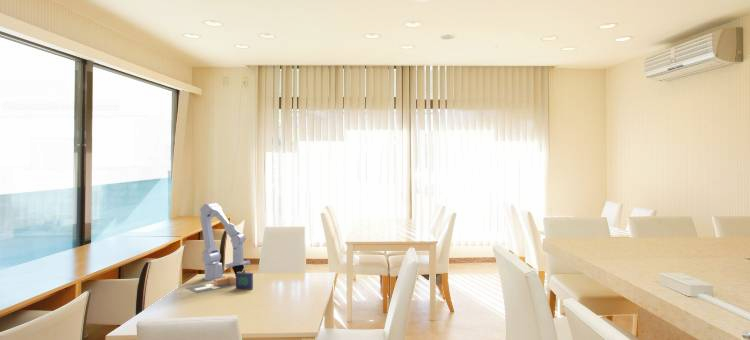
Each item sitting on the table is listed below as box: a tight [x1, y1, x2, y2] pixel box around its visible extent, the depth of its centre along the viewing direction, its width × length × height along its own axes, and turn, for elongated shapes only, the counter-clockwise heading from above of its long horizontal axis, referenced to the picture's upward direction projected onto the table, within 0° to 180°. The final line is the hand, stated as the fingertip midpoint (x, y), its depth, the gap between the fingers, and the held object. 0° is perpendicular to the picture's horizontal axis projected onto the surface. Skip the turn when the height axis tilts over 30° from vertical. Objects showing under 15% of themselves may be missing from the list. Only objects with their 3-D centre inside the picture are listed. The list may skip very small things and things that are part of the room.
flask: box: [235, 269, 254, 291], centre depth 246 cm, size 9×3×11 cm, turn 88°
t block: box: [213, 274, 236, 286], centre depth 255 cm, size 10×10×3 cm
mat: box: [185, 281, 236, 294], centre depth 252 cm, size 31×14×1 cm, turn 136°
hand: (237, 278), depth 261 cm, fingers closed
